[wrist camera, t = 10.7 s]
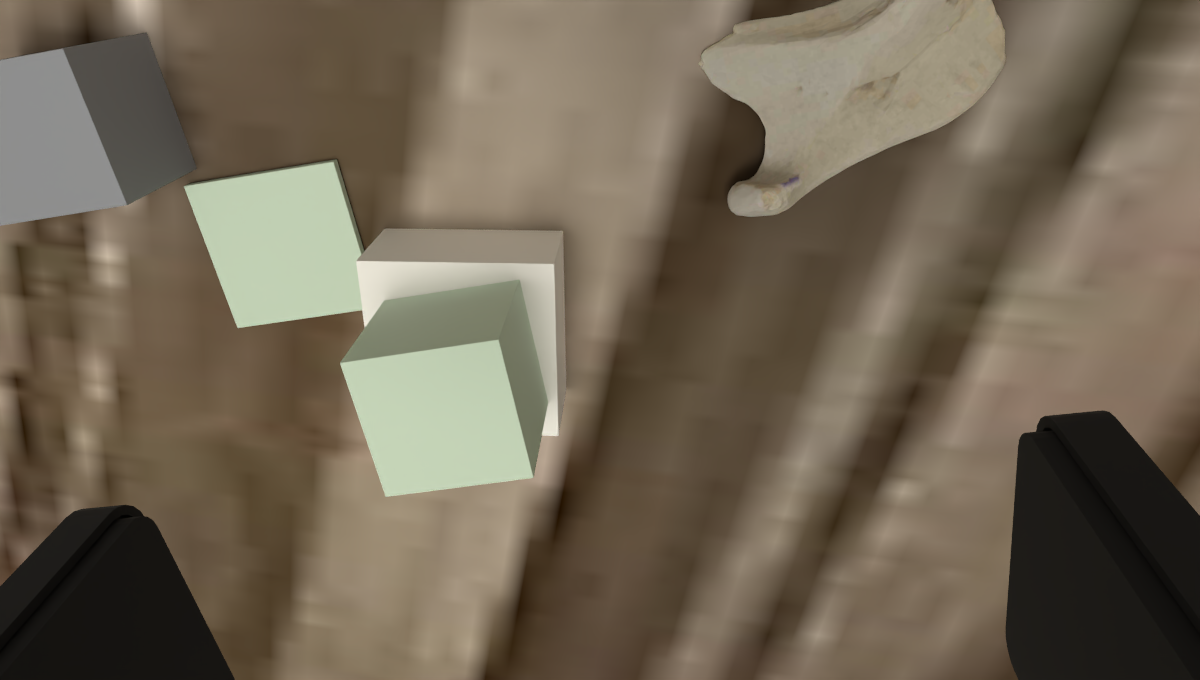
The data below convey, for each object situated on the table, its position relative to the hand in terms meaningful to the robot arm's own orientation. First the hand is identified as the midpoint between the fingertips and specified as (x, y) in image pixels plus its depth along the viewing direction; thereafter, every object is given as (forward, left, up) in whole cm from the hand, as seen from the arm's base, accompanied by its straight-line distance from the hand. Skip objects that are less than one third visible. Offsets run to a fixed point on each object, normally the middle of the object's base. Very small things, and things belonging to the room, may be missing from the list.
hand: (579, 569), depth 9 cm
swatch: (+3, -14, -24) cm, 28 cm away
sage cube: (+7, -7, -21) cm, 23 cm away
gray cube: (-3, -19, -25) cm, 31 cm away
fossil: (0, +8, -25) cm, 26 cm away
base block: (+6, -7, -25) cm, 26 cm away
